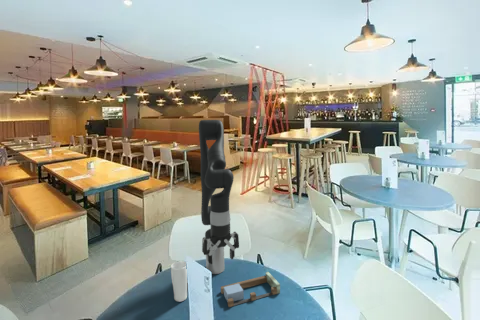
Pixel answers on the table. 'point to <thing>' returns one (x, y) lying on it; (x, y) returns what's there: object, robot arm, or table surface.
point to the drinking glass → (179, 280)
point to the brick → (234, 292)
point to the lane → (252, 282)
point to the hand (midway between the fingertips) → (221, 260)
